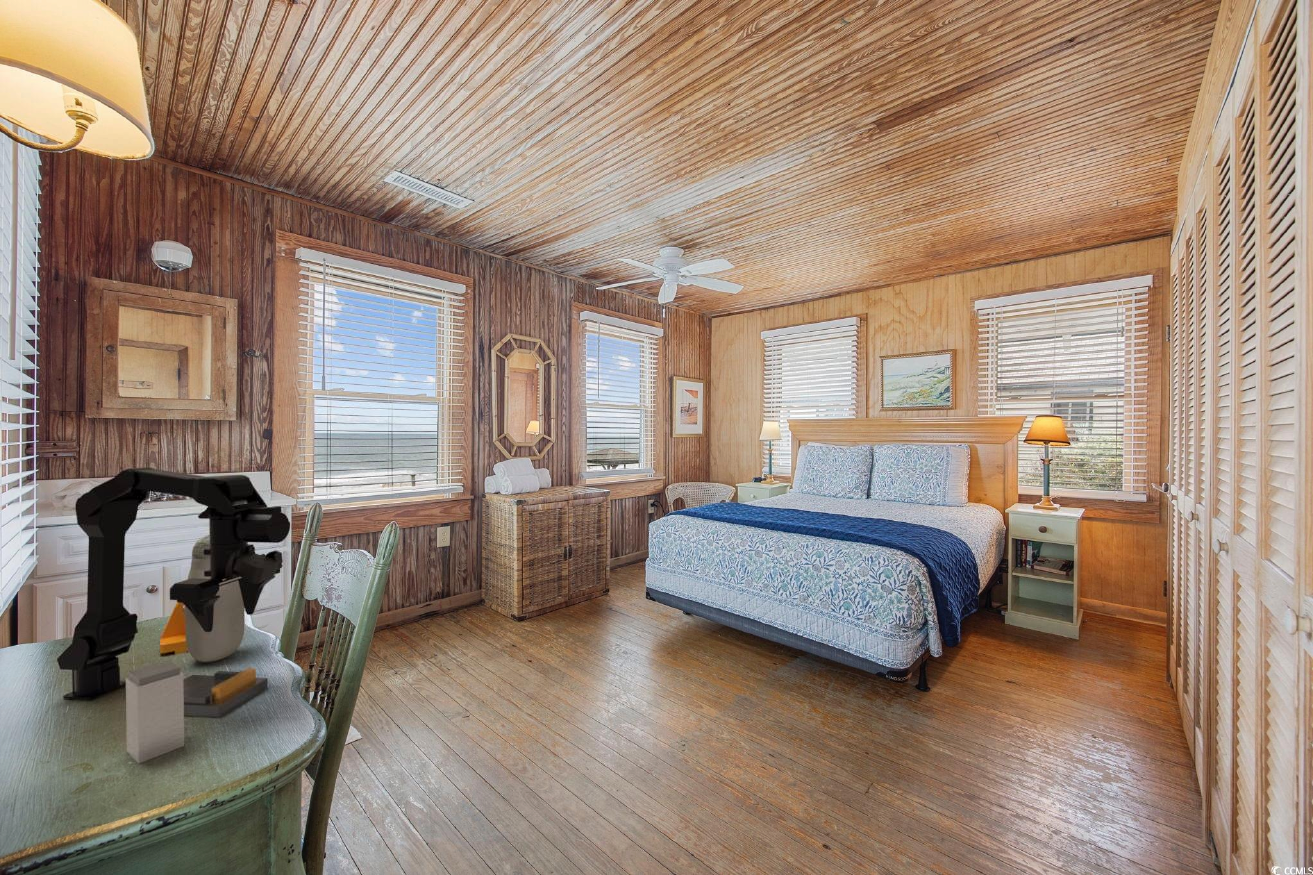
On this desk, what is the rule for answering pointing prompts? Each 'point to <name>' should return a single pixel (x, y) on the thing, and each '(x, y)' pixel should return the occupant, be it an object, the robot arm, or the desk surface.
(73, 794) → the desk surface
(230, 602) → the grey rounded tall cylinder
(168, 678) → the block
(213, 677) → the grey base plate
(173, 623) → the bracket
